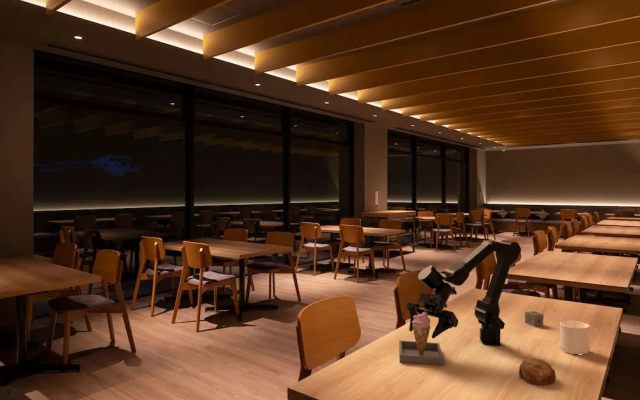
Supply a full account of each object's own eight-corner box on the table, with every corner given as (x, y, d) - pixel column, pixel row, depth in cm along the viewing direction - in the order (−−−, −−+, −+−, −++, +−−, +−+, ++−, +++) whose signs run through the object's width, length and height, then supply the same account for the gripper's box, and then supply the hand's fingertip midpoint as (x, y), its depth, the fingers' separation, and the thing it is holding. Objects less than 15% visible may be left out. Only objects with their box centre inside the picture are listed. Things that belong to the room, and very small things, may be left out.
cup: (586, 347, 158) (586, 321, 158) (593, 357, 148) (594, 329, 148) (556, 344, 161) (557, 318, 161) (562, 354, 151) (562, 326, 151)
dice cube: (543, 325, 184) (543, 314, 184) (534, 326, 182) (534, 315, 182) (533, 322, 188) (534, 311, 188) (524, 323, 187) (525, 312, 187)
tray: (438, 350, 154) (439, 343, 154) (443, 365, 140) (443, 358, 140) (399, 347, 156) (399, 340, 156) (399, 362, 142) (399, 354, 142)
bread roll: (517, 383, 136) (507, 361, 135) (545, 369, 137) (536, 346, 136) (536, 398, 126) (525, 374, 125) (566, 383, 127) (555, 358, 126)
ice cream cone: (430, 359, 144) (431, 315, 144) (411, 357, 146) (412, 313, 145) (429, 352, 151) (430, 309, 150) (411, 350, 152) (411, 308, 152)
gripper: (408, 279, 158) (389, 314, 151) (454, 288, 144) (435, 328, 137) (421, 297, 164) (403, 332, 157) (466, 307, 150) (448, 346, 143)
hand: (421, 334), depth 148 cm, fingers open, 9 cm apart
